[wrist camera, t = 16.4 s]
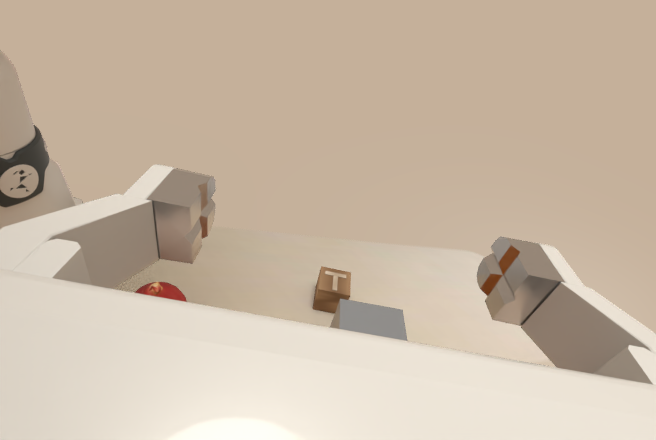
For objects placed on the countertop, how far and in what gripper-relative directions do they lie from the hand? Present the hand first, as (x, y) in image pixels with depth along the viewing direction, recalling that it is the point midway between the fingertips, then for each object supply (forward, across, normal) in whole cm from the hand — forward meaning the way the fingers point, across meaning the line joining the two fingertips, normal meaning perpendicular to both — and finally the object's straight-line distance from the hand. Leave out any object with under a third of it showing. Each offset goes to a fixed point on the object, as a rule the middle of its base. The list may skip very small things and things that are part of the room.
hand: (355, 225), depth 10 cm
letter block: (+23, -4, +30) cm, 38 cm away
